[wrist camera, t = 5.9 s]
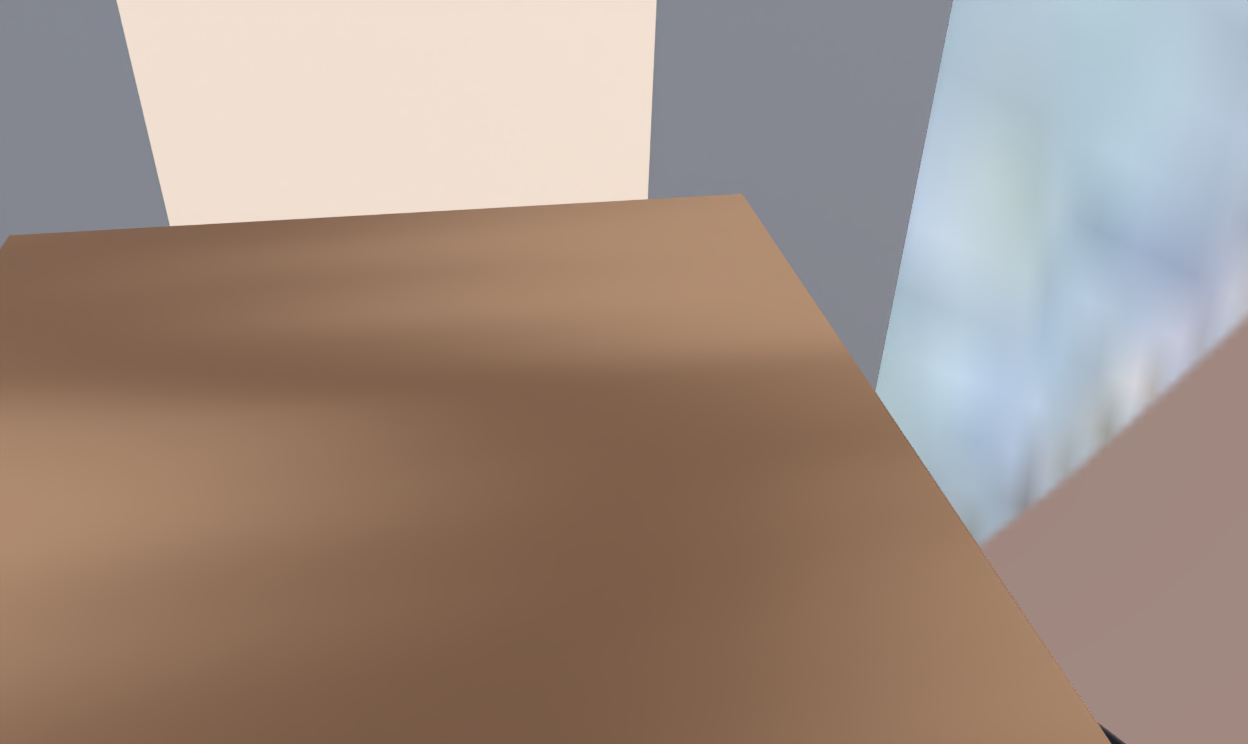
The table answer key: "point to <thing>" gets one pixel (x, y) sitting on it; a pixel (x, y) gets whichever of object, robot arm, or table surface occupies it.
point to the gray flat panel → (480, 117)
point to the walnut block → (476, 496)
